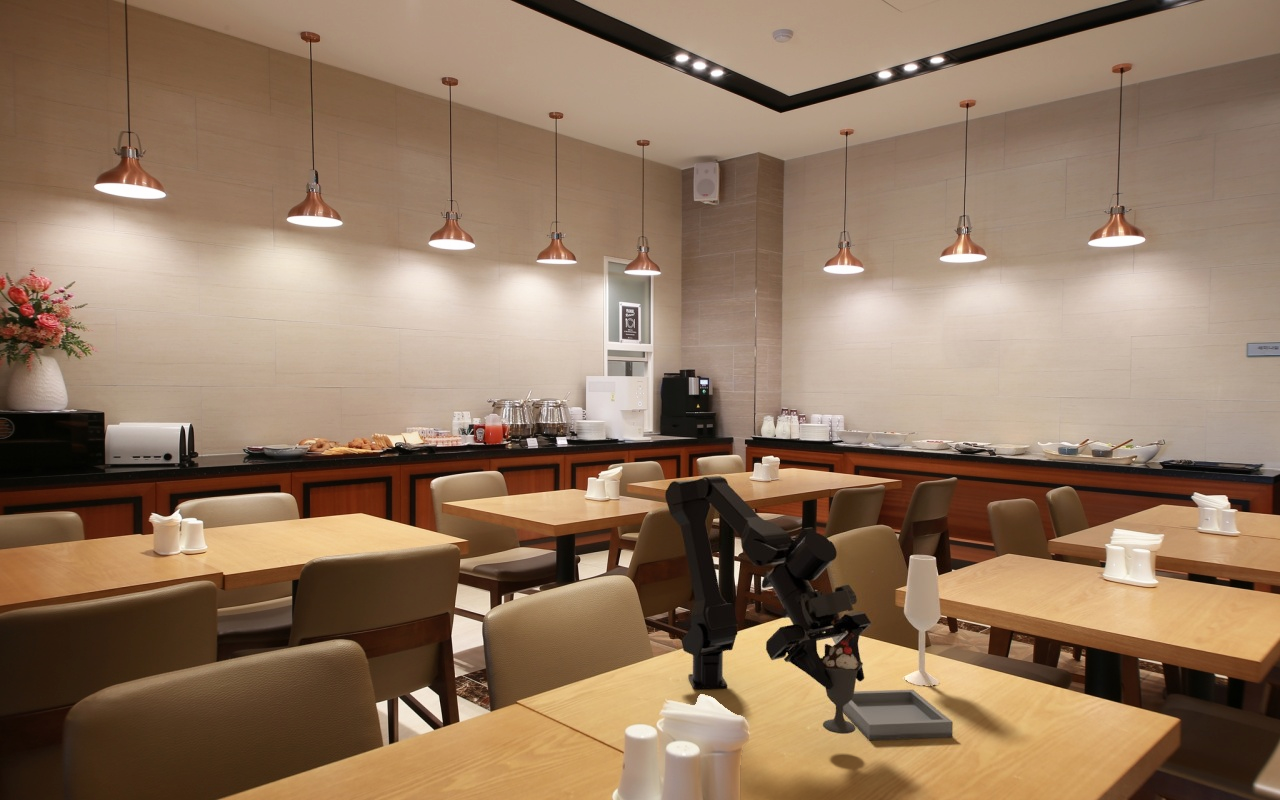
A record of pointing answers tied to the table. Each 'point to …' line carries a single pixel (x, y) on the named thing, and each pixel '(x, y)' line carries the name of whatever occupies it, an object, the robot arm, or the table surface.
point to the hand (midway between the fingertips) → (846, 684)
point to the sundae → (840, 682)
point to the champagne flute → (922, 608)
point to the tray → (896, 715)
